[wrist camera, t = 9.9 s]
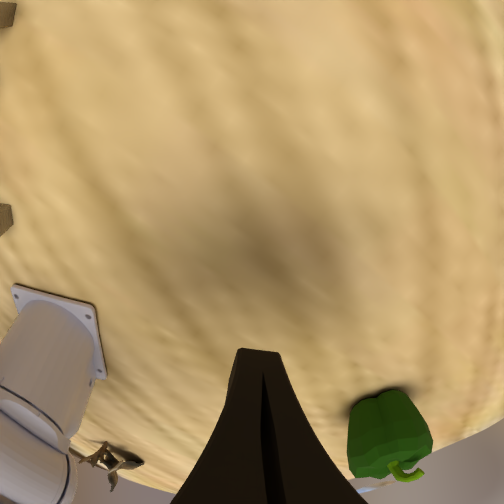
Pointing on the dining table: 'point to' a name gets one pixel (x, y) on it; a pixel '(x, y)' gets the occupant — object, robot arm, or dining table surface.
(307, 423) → the robot arm
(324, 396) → the dining table surface
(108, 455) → the eagle figurine
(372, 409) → the bell pepper
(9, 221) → the motor mount
